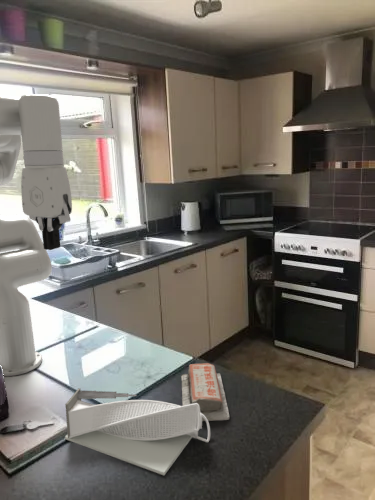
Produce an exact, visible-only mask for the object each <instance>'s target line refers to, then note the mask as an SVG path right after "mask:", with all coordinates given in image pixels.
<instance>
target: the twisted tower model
mask: <svg viewBox="0 0 375 500" xmlns="http://www.w3.org/2000/svg"><path fill="white" fill-rule="evenodd" d="M129 397H137V394H129V393H123V392H122V393H121V392H119V393H118V392H117V391H102V390H101V391H99V390H98V391H97V390H81V388H77V390H76V391H75V392H73V394H72V396H71V397H70V398H69V399H68V401H67V402H66V403H65V416H66V431H67V434H68V438H72V437H75V436H78V435H82V434H85V433H89V432H92V431H100V432H103V433H107V434H110V435H114V436H118V437H122V438H126V439H131V440H145V441H149V440H160V439H167V438H172V437H176V436H180V435H184V434H187V435H191V437H192V439H193V438H194V439H198V440H199V441H202V442H205V443H209V441H210V440H211V426H210V423H209V422H210V421H208V420H207V418H206V417H205V415H203V414H202V413H201V412H200V406H199V404H198V403H194V404H189V405H184V406H183V405H179V404H176V403H170V402H166V401H162V400H151V399H130V400H129V399H127V400H125V399H124V400H116V399H117V398H129ZM92 399H93V400H96V399H115V400H116V401H109V402H105V403H100V404H93V403H89V402H87V401H83V400H92ZM202 417H203V418H204V419H205V421H204V422H205V423H206V428H207V437H206V438H207V439H206V438H204V437H201V436H199V430H200V429H203V427H202V426H203V421H202Z"/></svg>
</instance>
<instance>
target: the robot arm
mask: <svg viewBox="0 0 375 500" xmlns="http://www.w3.org/2000/svg"><path fill="white" fill-rule="evenodd" d="M60 116H61V115H60V104H59V101H58V99H57V98H56V97H55V96H53V95H49V94H42V93H40V94H38V93H36V94H34V93H31V94H24V95H21V96H20V97H19V96H11V95H8V96H7V95H0V186H5V185H8V184H9V183H11V181H12V180H13V178H14V175H15V171H16V167H17V162H18V159H19V155H20V150H21V147H22V153H23V157H22V158H23V162H24V163H23V164H24V166H23V167H22V169H21V180H20V181H21V183H20V185H21V187H20V190H21V205H22V212H23V213H24V215H23V214H13V215H6V216H5V215H1V214H0V365H1V366H2V369H3V374H4V376H3V377H11V376H12V377H13V376H19V375H23V374H26V373H30V372H32V371H33V370H35V369H36V368H38V367H39V366H40V365H41V364H42V361H43V355H42V354H41V353H40V352H38V351H36V348H35V347H36V346H35V340H34V339H35V338H34V331H33V325H32V324H33V322H32V315H31V314H32V313H31V308H30V307H31V306H30V303H29V300H28V298H27V297H26V295H24V293H22V292H20V291H19V290H18V288H19V287H20V288H21V287H23V286H27V285H30V284H34V283H38V282H41V281H44V280H46V279H48V278H49V277H50V276H51V274H52V271H53V270H52V269H53V268H52V261H51V258H50V256H49V254H48V251H52V250H55V249H59V248H61V237H60V230H61V229H62V226H63V225H64V224H65V223H70V222H71V217H70V215H71V213H72V212H73V203H72V193H71V187H70V181H69V176H68V172H67V171H68V170H67V168H66V167H65V164H64V152H63V140H62V129H61V128H62V127H61V117H60ZM33 221H35V222H36V223H37V225H38V228H39V230H40V231H41V234H42V236H41V235H40V233H39V231H38V230H37V227H36V225H35V224H34V222H33ZM47 250H48V251H47Z"/></svg>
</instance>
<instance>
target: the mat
mask: <svg viewBox="0 0 375 500" xmlns="http://www.w3.org/2000/svg"><path fill="white" fill-rule="evenodd" d="M64 439H65V440H67V441H69V442H73V443H74V444H77V445H79V446H83V447H86V448H88V449H91V450H93V451H97V452H99V453H102V454H104V455H106V456H107V455H108V456H111V457H113V458H115V459H118V460H120V461H123V462H126V463H129V464H131V465H134V466H137V467H140V468H143V469H144V470H145V469H146V470H148V471H151V472H153V473H157V474H158V475H162V476H165V475H166V474H167V472H168V471H169V469H170V468H171V467H172V466H173V464H174V463H175V461H176V460H177V459H178V457H180V455H181V453H182V452H183V450H184V449H185V448H186V446H187V445H188V444H189V443H190V441H191V440H192V439H193V437H191V435H187V434H184V435H180V436H176V437H172V438H167V439H160V440H149V441H145V440H131V439H126V438H122V437H118V436H114V435H110V434H107V433H103V432H100V431H92V432H89V433H85V434H82V435H78V436H75V437H72V438H68V433H67V434H66V435H65V436H64Z"/></svg>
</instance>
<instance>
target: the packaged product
mask: <svg viewBox="0 0 375 500" xmlns="http://www.w3.org/2000/svg"><path fill="white" fill-rule="evenodd" d="M180 377H181V391H182V392H181V395H182V396H181V403H182V405H181V406H184V405H189V404H194V403H198V404H199V406H200V412H201V413H202V414H203V415H205V417H206V418H207V420H208V422H210V421H213V422H214V421H227V420H228V421H229V420H230V413H229V412H230V411H229V407H228V403H227V398H226V392H225V390H224V385H223V380H222V376H221V373H217V371H216V367H215V365H214V364H211V363H208V362H206V363H192V364H191V363H190V364H189V365H188V370H187V373H183V374H181V375H180ZM202 422H206V421H205V419H204V418H203V417H202Z"/></svg>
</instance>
